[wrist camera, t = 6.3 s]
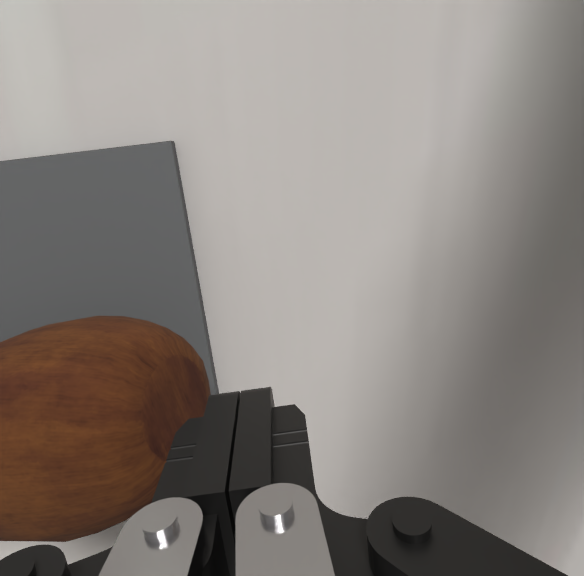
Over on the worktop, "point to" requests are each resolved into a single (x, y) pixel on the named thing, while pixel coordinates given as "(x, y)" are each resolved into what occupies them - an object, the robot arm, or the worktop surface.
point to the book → (99, 243)
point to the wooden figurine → (90, 422)
